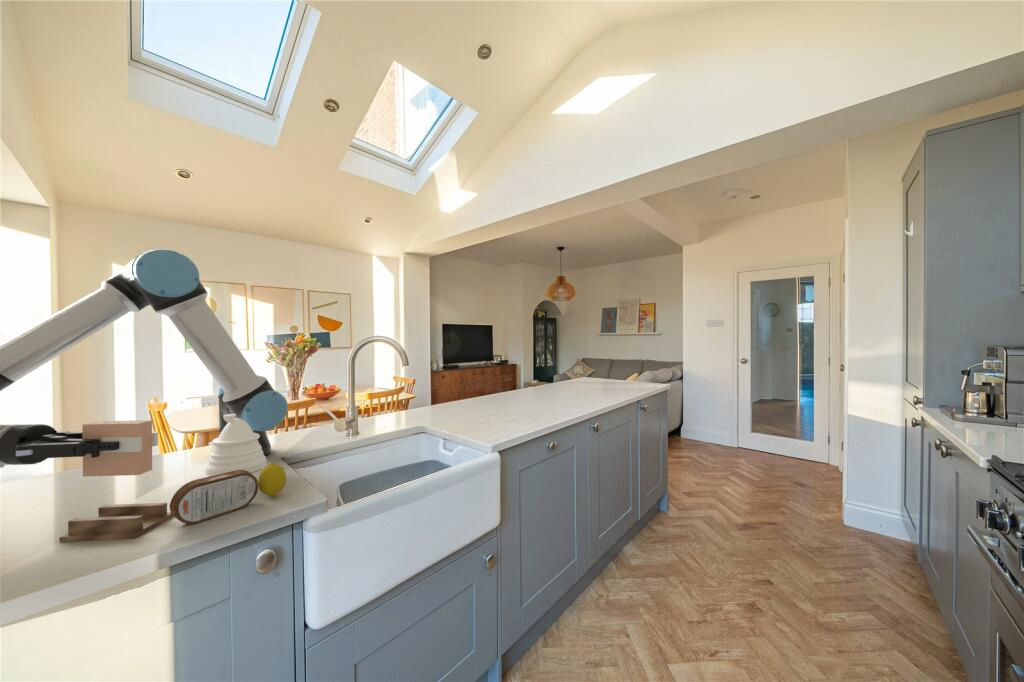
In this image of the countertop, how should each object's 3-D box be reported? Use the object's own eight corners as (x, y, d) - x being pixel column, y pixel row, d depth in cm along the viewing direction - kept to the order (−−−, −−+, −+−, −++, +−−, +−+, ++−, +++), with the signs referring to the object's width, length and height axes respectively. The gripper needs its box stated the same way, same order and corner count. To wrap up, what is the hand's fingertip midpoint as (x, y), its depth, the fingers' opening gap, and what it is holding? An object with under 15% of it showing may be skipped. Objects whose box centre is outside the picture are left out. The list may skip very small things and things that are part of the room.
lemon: (262, 493, 92) (262, 460, 92) (288, 491, 94) (288, 458, 93) (255, 503, 87) (254, 468, 86) (282, 500, 88) (282, 465, 88)
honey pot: (235, 494, 92) (234, 419, 91) (191, 490, 94) (190, 417, 94) (278, 475, 104) (277, 409, 104) (238, 472, 107) (238, 408, 107)
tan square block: (82, 476, 73) (82, 424, 73) (98, 471, 76) (98, 421, 76) (139, 475, 74) (138, 423, 74) (152, 469, 77) (151, 420, 77)
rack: (59, 541, 70) (59, 524, 70) (106, 518, 79) (106, 502, 79) (135, 538, 72) (135, 520, 72) (173, 516, 80) (173, 500, 80)
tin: (254, 500, 88) (254, 464, 88) (260, 504, 86) (260, 466, 86) (169, 527, 76) (168, 485, 76) (174, 532, 74) (174, 488, 74)
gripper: (62, 451, 82) (180, 448, 84) (-39, 479, 66) (109, 474, 68) (62, 416, 82) (180, 414, 84) (-40, 435, 66) (109, 432, 68)
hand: (148, 441), depth 76 cm, fingers closed on tan square block, 3 cm apart
